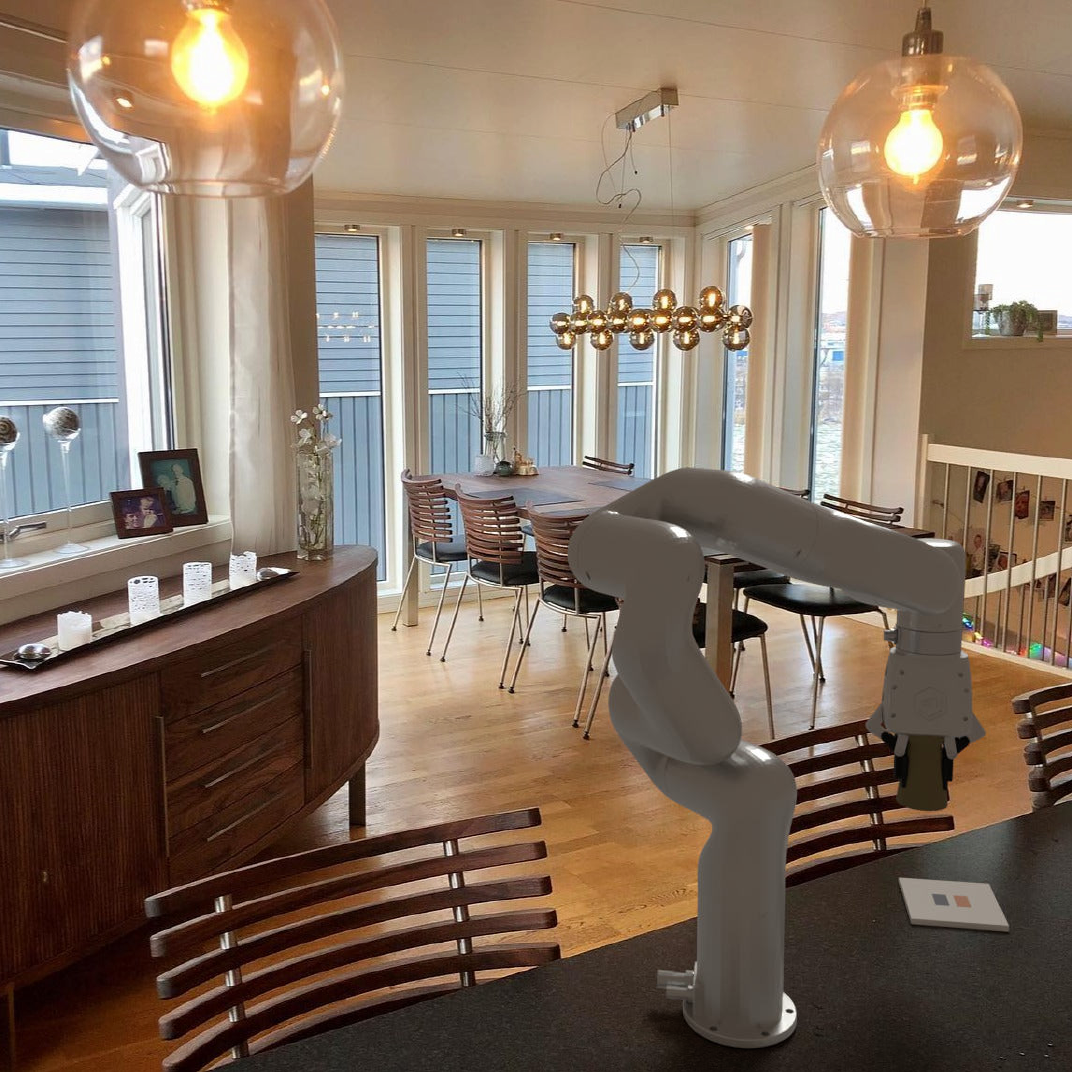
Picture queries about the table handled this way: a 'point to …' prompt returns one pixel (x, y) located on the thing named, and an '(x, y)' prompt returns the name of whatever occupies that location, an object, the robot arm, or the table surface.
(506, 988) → the table surface
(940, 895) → the tile
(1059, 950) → the table surface
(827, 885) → the table surface
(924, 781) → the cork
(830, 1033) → the table surface
